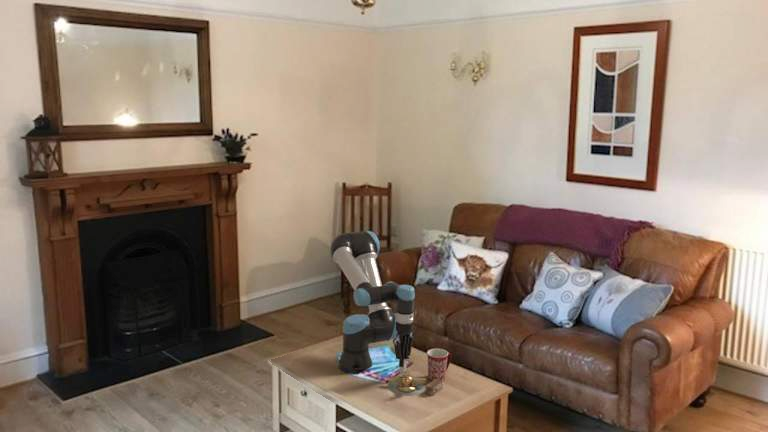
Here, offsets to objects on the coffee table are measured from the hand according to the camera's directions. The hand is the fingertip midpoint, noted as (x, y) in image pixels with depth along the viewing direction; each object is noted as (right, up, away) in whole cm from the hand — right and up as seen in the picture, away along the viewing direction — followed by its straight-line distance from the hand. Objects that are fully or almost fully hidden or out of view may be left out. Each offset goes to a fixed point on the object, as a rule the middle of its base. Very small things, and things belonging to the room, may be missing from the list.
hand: (402, 372), depth 276 cm
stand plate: (+2, -6, -7) cm, 9 cm away
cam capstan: (+2, -4, -7) cm, 8 cm away
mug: (+16, -4, +2) cm, 17 cm away
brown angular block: (+13, -7, -10) cm, 17 cm away
